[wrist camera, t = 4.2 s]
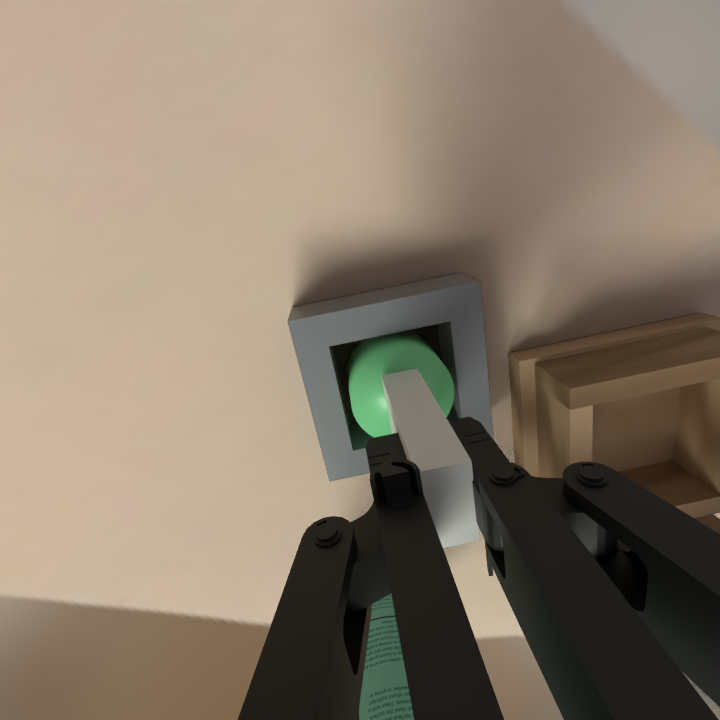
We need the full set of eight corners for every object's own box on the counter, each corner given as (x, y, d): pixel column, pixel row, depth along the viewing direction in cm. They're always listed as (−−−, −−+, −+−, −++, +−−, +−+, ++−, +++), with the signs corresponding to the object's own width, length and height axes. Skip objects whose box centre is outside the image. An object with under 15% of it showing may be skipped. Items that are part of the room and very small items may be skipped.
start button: (338, 338, 19) (341, 360, 16) (430, 319, 19) (448, 338, 17) (356, 419, 21) (361, 452, 18) (440, 401, 21) (459, 431, 18)
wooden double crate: (508, 353, 21) (551, 387, 17) (700, 312, 21) (788, 337, 17) (524, 614, 28) (558, 682, 24) (669, 582, 28) (726, 644, 24)
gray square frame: (291, 307, 19) (287, 321, 17) (460, 272, 19) (480, 281, 17) (328, 452, 22) (329, 481, 20) (475, 421, 22) (494, 446, 20)
